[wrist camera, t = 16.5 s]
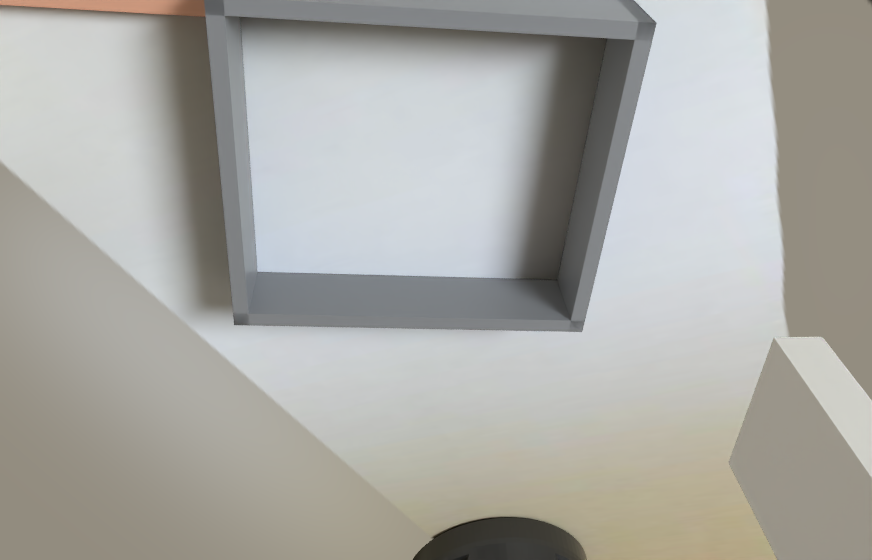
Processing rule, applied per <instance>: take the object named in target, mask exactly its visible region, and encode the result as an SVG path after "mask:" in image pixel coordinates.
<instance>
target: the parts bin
mask: <svg viewBox="0 0 872 560" xmlns="http://www.w3.org/2000/svg"><path fill="white" fill-rule="evenodd" d="M204 5H205V16H206V27H207V37H208V48H209V59H210V70H211V80H212V91H213V102H214V113H215V123H216V134H217V145H218V155H219V166H220V177H221V188H222V198H223V209H224V220H225V231H226V241H227V252H228V263H229V274H230V284H231V295H232V306H233V317H234V325H263V326H313V327H363V328H414V329H464V330H514V331H565V332H582V330H583V326H584V322H585V318H586V313H587V309H588V305H589V301H590V297H591V293H592V289H593V284H594V280H595V276H596V272H597V268H598V264H599V259H600V255H601V251H602V247H603V243H604V239H605V235H606V230H607V226H608V222H609V218H610V214H611V210H612V205H613V201H614V197H615V193H616V189H617V185H618V180H619V176H620V172H621V168H622V164H623V160H624V156H625V151H626V147H627V143H628V139H629V135H630V131H631V126H632V122H633V118H634V114H635V110H636V106H637V102H638V97H639V93H640V89H641V85H642V81H643V77H644V72H645V68H646V64H647V60H648V56H649V52H650V47H651V43H652V39H653V35H654V31H655V27H656V22H655V21H654V20H653V19H652V18H651V17H650V16H649V15H648V14H647V13H646V12H645V11H644V10H643V9H642V8H641V7H640V6H639V5H638V4H637V3H636V2H635V1H634V0H204ZM240 17H255V18H272V19H289V20H306V21H323V22H340V23H357V24H374V25H391V26H408V27H425V28H442V29H459V30H476V31H493V32H509V33H526V34H543V35H560V36H577V37H594V38H607V41H606V46H605V51H604V56H603V61H602V66H601V71H600V75H599V80H598V85H597V90H596V95H595V100H594V104H593V109H592V114H591V119H590V124H589V129H588V134H587V138H586V143H585V148H584V153H583V158H582V163H581V167H580V172H579V177H578V182H577V187H576V192H575V196H574V201H573V206H572V211H571V216H570V221H569V226H568V230H567V235H566V240H565V245H564V250H563V255H562V259H561V264H560V269H559V274H558V279H557V280H535V279H498V278H460V277H422V276H385V275H347V274H310V273H272V272H257V259H256V244H255V230H254V215H253V200H252V185H251V170H250V156H249V141H248V126H247V111H246V96H245V82H244V67H243V52H242V37H241V23H240Z"/></svg>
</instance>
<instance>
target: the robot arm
mask: <svg viewBox="0 0 872 560" xmlns="http://www.w3.org/2000/svg"><path fill="white" fill-rule="evenodd" d="M729 465H730V467H731V469H732V471H733V473H734V475H735V477H736V479H737V481H738V483H739V485H740V487H741V489H742V491H743V493H744V495H745V497H746V498H747V500H748V502H749V504H750V506H751V508H752V510H753V512H754V514H755V516H756V518H757V520H758V522H759V524H760V526H761V528H762V530H763V532H764V534H765V536H766V538H767V540H768V542H769V544H770V546H771V548H772V550H773V552H774V554H775V556H776V558H777V560H872V400H871V399H870V398H869V397H868V395H867V394H866V393H865V391H864V390H863V389H862V388H861V386H860V385H859V384H858V382H857V381H856V380H855V379H854V377H853V376H852V375H851V373H850V372H849V371H848V370H847V368H846V367H845V366H844V364H843V363H842V362H841V361H840V359H839V358H838V357H837V355H836V354H835V353H834V352H833V350H832V349H831V348H830V347H829V345H828V344H827V343H826V341H825V340H824V339H823V338H822V337H774V339H773V342H772V344H771V347H770V350H769V353H768V355H767V358H766V361H765V364H764V366H763V369H762V372H761V375H760V377H759V380H758V383H757V386H756V388H755V391H754V394H753V397H752V399H751V402H750V405H749V408H748V410H747V413H746V416H745V419H744V421H743V424H742V427H741V430H740V432H739V435H738V438H737V441H736V443H735V446H734V449H733V452H732V454H731V457H730V460H729ZM413 560H587V558H586V555H585V552H584V550H583V548H582V546H581V545H580V543H579V542H578V541H577V540H576V539H575V538H574V537H573V536H571V535H570V534H569V533H567V532H566V531H564V530H562V529H560V528H558V527H556V526H554V525H551V524H548V523H545V522H541V521H537V520H532V519H524V518H495V519H487V520H481V521H476V522H472V523H468V524H465V525H462V526H459V527H456V528H454V529H451V530H449V531H447V532H445V533H443V534H441V535H439V536H438V537H436V538H434V539H433V540H432V541H430V542H429V543H428V544H426V545H425V546H424V547H423V548H422V549H421V550H420V551H419V552H418V553H417V554H416V556H415V557H414V558H413Z"/></svg>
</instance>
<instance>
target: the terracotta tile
mask: <svg viewBox="0 0 872 560" xmlns="http://www.w3.org/2000/svg"><path fill="white" fill-rule="evenodd" d="M0 5H13V6H30V7H47V8H64V9H81V10H98V11H115V12H132V13H149V14H166V15H183V16H200V17H206V16H205V5H204V0H0Z"/></svg>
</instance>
